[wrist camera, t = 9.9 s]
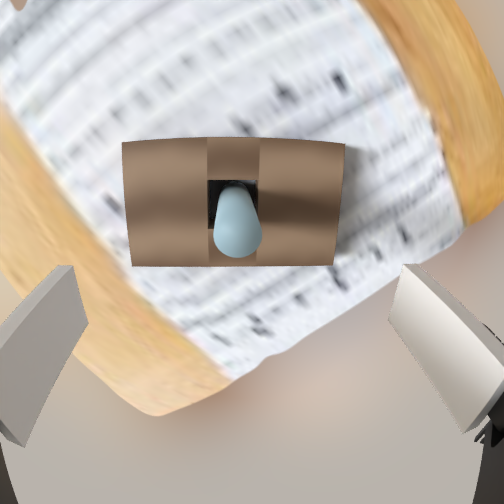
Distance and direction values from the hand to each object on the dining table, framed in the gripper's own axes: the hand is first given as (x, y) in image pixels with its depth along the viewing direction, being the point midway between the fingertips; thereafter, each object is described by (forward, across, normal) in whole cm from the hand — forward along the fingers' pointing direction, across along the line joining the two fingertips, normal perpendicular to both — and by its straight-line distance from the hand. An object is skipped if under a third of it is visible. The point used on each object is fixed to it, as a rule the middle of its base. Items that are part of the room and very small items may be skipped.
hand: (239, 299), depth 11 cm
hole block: (+20, 0, -1) cm, 20 cm away
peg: (+20, 0, 0) cm, 20 cm away
